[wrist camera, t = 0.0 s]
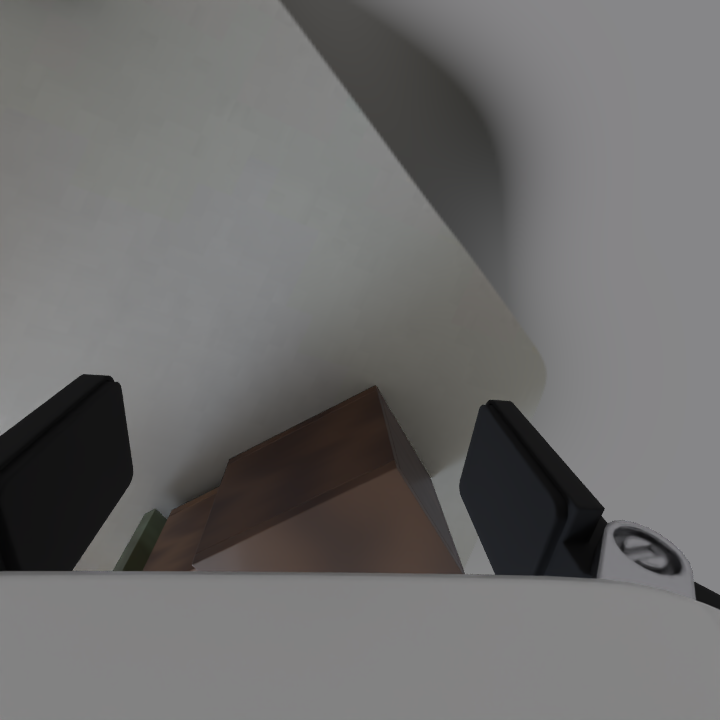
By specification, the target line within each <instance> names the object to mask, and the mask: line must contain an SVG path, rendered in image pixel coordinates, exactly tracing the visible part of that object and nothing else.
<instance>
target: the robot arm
mask: <svg viewBox="0 0 720 720" xmlns="http://www.w3.org/2000/svg"><path fill="white" fill-rule="evenodd" d="M132 477H133V465H132V458H131V451H130V444H129V437H128V430H127V423H126V416H125V409H124V402H123V395H122V389H121V385H120V383H118V382H114V380H113V378H112V377H111V376H104V375H88V374H83V375H81V376H79V377H78V378H77V379H75V380H74V381H73V382H71V383H70V384H69V385H67V386H66V387H65V388H64V389H62V390H61V391H60V392H58V393H57V394H56V395H54V396H53V397H52V398H50V399H49V400H48V401H46V402H45V403H44V404H42V405H41V406H40V407H38V408H37V409H36V410H34V411H33V412H32V413H30V414H29V415H28V416H26V417H25V418H24V419H22V420H21V421H20V422H18V423H17V424H16V425H15V426H13V427H12V428H11V429H9V430H8V431H7V432H5V433H4V434H3V435H1V436H0V720H720V595H719V594H717V593H715V592H713V591H711V590H709V589H707V588H705V587H704V586H701V585H699V584H698V583H696V582H694V579H693V571H692V568H691V566H690V562H689V561H688V559H687V558H686V557H685V555H684V554H683V553H682V552H681V551H680V550H679V549H678V548H677V547H676V546H675V545H674V544H673V543H672V542H670V541H669V540H668V539H666V538H665V537H663V536H662V535H661V534H659V533H657V532H655V531H653V530H651V529H650V528H648V527H645V526H643V525H640V524H637V523H634V522H629V521H624V520H618V521H612V522H610V523H607V522H606V521H605V520H604V519H603V517H602V516H601V515H602V513H603V511H604V509H605V508H604V507H603V506H602V505H601V504H600V503H599V501H598V500H597V499H596V498H595V497H594V496H593V495H592V493H591V492H590V491H589V490H588V489H587V488H586V487H585V485H583V483H582V482H581V481H580V480H579V478H578V477H577V476H576V475H575V474H574V473H573V472H572V470H571V469H570V468H569V467H568V466H567V465H566V464H565V463H564V461H563V460H562V459H561V458H560V457H559V455H558V454H557V453H556V452H555V451H554V450H553V449H552V448H551V447H550V445H549V444H548V443H547V442H546V441H545V439H544V438H543V437H542V436H541V435H540V434H539V433H538V431H537V430H536V429H535V428H534V427H533V426H532V425H531V423H530V422H529V421H528V420H527V419H526V418H525V416H524V415H523V414H522V413H521V412H520V411H519V410H518V408H517V407H516V406H515V405H514V404H513V403H512V402H511V401H499V400H489V401H488V402H487V403H486V405H481V407H480V409H479V412H478V416H477V419H476V423H475V427H474V431H473V434H472V438H471V442H470V446H469V449H468V453H467V457H466V460H465V464H464V468H463V472H462V475H461V479H460V484H459V489H460V495H461V497H462V500H463V502H464V504H465V506H466V509H467V511H468V513H469V516H470V518H471V520H472V522H473V525H474V527H475V529H476V532H477V534H478V536H479V538H480V541H481V543H482V545H483V547H484V550H485V552H486V554H487V557H488V559H489V561H490V564H491V566H492V568H493V570H494V572H495V575H479V574H413V573H333V572H216V571H72V570H73V569H74V567H75V566H76V564H77V563H78V561H79V560H80V558H81V557H82V555H83V554H84V552H85V551H86V549H87V548H88V546H89V545H90V543H91V542H92V540H93V539H94V537H95V536H96V534H97V533H98V531H99V530H100V528H101V527H102V525H103V524H104V522H105V521H106V519H107V518H108V516H109V515H110V513H111V512H112V510H113V509H114V507H115V506H116V504H117V503H118V501H119V500H120V498H121V497H122V495H123V494H124V492H125V491H126V489H127V488H128V486H129V485H130V483H131V480H132Z"/></svg>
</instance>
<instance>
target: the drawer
mask: <svg viewBox="0 0 720 720" xmlns="http://www.w3.org/2000/svg"><path fill="white" fill-rule="evenodd" d="M219 487H220V486H219ZM219 487H217V488H215V489H213V490H211V491H209V492H207V493H205V494H203V495H201V496H199V497H197V498H195V499H193V500H191V501H189V502H187V503H185V504H183V505H181V506H179V507H177V508H175V509H173V510H172V511H171V513H170V515H169V517H168V519H166V518H165V517H164V516H163V515H162V514H161V513H160V512H159V511H158V510H156V509H154V510H152V511H150V512H148V513H146V514H145V515H144V516H143V518H142V520H141V522H140V523H139V525H138V527H137V529H136V531H135V532H134V534H133V536H132V538H131V540H130V541H129V543H128V545H127V547H126V548H125V550H124V552H123V554H122V556H121V557H120V559H119V561H118V563H117V564H116V566H115V568H114V570H113V571H198V570H196V569H195V568H194V567H193V566H192V562H193V559H194V556H195V555H196V554H195V553H196V550H197V548H198V545H199V542H200V539H201V537H202V534H203V531H204V528H205V525H206V523H207V520H208V517H209V514H210V512H211V509H212V506H213V503H214V501H215V498H216V495H217V492H218V490H219Z"/></svg>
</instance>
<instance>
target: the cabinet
mask: <svg viewBox="0 0 720 720" xmlns="http://www.w3.org/2000/svg"><path fill="white" fill-rule="evenodd" d="M195 554H196V555H195V556H194V559H193V562H192V566H193V567H194V568H195V569H196V570H198V571H216V572H333V573H413V574H465V573H464V570H463V567H462V564H461V561H460V559H459V556H458V553H457V550H456V548H455V545H454V542H453V539H452V536H451V534H450V531H449V528H448V525H447V522H446V520H445V517H444V514H443V511H442V509H441V506H440V503H439V500H438V497H437V495H436V492H435V489H434V486H433V483H432V481H431V478H430V477H429V475H428V473H427V471H426V470H425V468H424V466H423V465H422V463H421V461H420V460H419V458H418V456H417V454H416V453H415V451H414V449H413V448H412V446H411V444H410V442H409V441H408V439H407V437H406V436H405V434H404V432H403V430H402V429H401V427H400V425H399V424H398V422H397V420H396V419H395V417H394V415H393V413H392V412H391V410H390V408H389V407H388V405H387V403H386V401H385V400H384V398H383V396H382V395H381V393H380V391H379V390H378V388H377V386H376V385H375V386H373V387H371V388H369V389H367V390H365V391H363V392H361V393H359V394H357V395H355V396H353V397H351V398H350V399H348V400H346V401H344V402H342V403H340V404H338V405H336V406H334V407H332V408H330V409H328V410H326V411H324V412H322V413H320V414H318V415H316V416H314V417H312V418H310V419H308V420H306V421H304V422H302V423H300V424H298V425H296V426H294V427H292V428H290V429H288V430H286V431H284V432H282V433H280V434H278V435H276V436H274V437H272V438H270V439H268V440H267V441H265V442H263V443H261V444H259V445H257V446H255V447H253V448H251V449H249V450H247V451H245V452H243V453H241V454H239V455H237V456H235V457H233V458H231V459H229V462H228V464H227V467H226V470H225V473H224V476H223V478H222V481H221V484H220V487H219V490H218V492H217V495H216V498H215V501H214V503H213V506H212V509H211V512H210V514H209V517H208V520H207V523H206V525H205V528H204V531H203V534H202V537H201V539H200V542H199V545H198V548H197V550H196V553H195Z"/></svg>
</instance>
